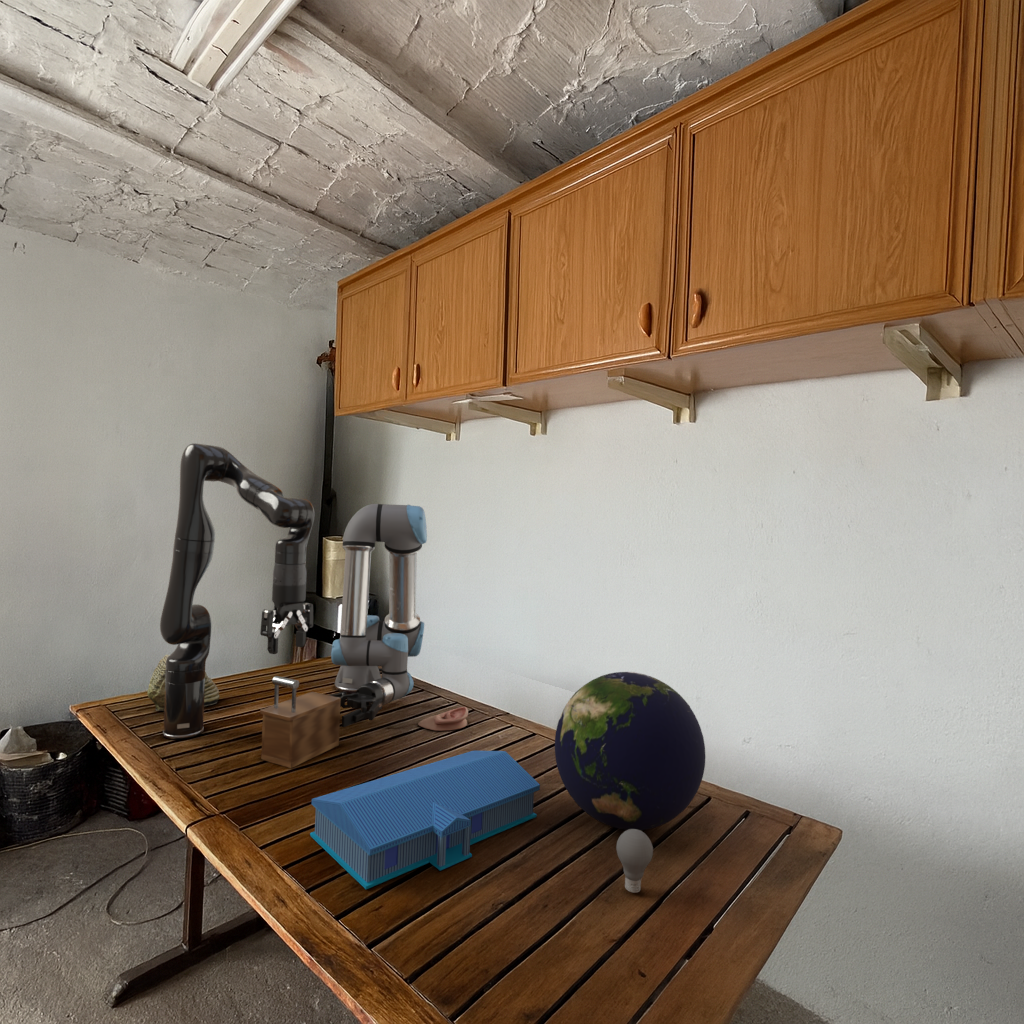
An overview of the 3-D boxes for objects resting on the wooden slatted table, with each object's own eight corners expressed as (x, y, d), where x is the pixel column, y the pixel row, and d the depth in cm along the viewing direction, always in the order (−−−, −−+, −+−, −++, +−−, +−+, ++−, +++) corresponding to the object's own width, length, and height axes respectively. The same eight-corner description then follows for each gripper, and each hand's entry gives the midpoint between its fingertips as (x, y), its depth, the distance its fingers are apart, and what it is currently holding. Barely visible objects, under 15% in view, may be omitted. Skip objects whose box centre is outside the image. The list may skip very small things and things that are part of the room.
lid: (290, 721, 146) (291, 684, 146) (259, 713, 150) (261, 677, 150) (340, 701, 161) (341, 668, 161) (312, 694, 166) (313, 662, 165)
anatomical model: (414, 713, 175) (428, 701, 186) (414, 728, 175) (427, 714, 186) (460, 719, 172) (471, 706, 184) (460, 733, 172) (471, 719, 184)
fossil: (144, 707, 182) (145, 655, 182) (212, 696, 194) (213, 647, 194) (151, 716, 175) (153, 662, 175) (221, 703, 188) (223, 653, 188)
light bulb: (610, 879, 108) (613, 822, 108) (644, 879, 109) (647, 822, 109) (619, 902, 102) (622, 840, 102) (655, 901, 103) (658, 840, 103)
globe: (530, 838, 120) (537, 682, 120) (575, 777, 148) (580, 650, 148) (692, 880, 109) (701, 707, 109) (708, 805, 137) (715, 668, 136)
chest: (291, 768, 147) (292, 720, 147) (261, 759, 151) (262, 712, 151) (339, 745, 162) (340, 701, 161) (310, 737, 166) (312, 695, 166)
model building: (376, 899, 100) (378, 836, 100) (308, 834, 119) (310, 781, 118) (548, 822, 127) (550, 773, 127) (472, 779, 145) (474, 735, 145)
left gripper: (278, 586, 142) (275, 658, 142) (322, 580, 155) (320, 646, 155) (254, 583, 145) (251, 653, 146) (299, 577, 158) (297, 642, 158)
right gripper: (409, 716, 176) (360, 741, 156) (338, 700, 186) (284, 722, 167) (410, 689, 175) (361, 711, 156) (339, 675, 186) (285, 693, 167)
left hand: (287, 650), depth 150 cm, fingers open, 8 cm apart
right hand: (321, 716), depth 162 cm, fingers open, 13 cm apart
